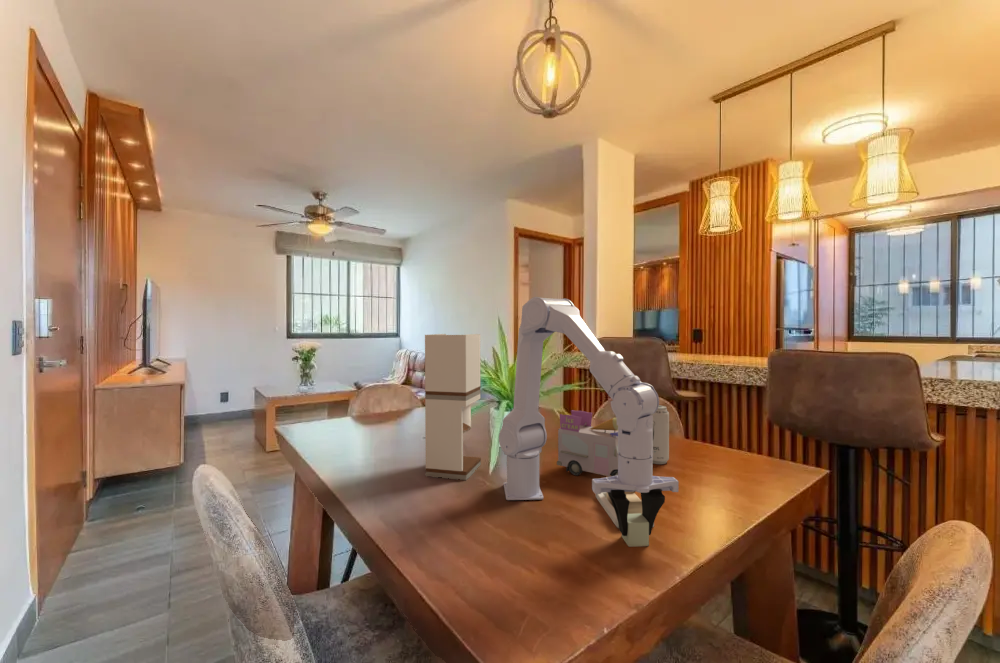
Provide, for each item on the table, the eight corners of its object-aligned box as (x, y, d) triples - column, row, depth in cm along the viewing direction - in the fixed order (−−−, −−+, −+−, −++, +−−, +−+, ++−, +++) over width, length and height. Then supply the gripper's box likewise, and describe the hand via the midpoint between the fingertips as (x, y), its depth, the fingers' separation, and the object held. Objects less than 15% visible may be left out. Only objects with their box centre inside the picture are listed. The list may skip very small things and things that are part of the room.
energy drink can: (640, 459, 119) (640, 405, 119) (657, 456, 121) (657, 403, 121) (657, 466, 113) (657, 409, 113) (673, 463, 116) (674, 407, 116)
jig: (595, 496, 93) (595, 491, 93) (626, 495, 94) (626, 490, 94) (617, 528, 79) (617, 521, 79) (654, 526, 79) (654, 520, 79)
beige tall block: (466, 480, 103) (465, 335, 103) (425, 476, 106) (424, 334, 106) (480, 465, 114) (480, 333, 114) (443, 462, 117) (442, 333, 117)
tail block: (621, 536, 76) (621, 513, 76) (640, 535, 76) (641, 513, 76) (628, 546, 72) (628, 523, 72) (648, 545, 73) (648, 522, 73)
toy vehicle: (630, 490, 97) (631, 424, 97) (555, 472, 109) (555, 413, 108) (644, 479, 104) (644, 417, 104) (572, 463, 116) (572, 408, 116)
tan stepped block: (606, 501, 91) (606, 476, 91) (622, 501, 92) (622, 476, 91) (623, 525, 80) (623, 497, 80) (642, 525, 81) (642, 497, 80)
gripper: (600, 462, 70) (600, 545, 70) (687, 461, 70) (687, 543, 71) (588, 450, 77) (588, 525, 77) (668, 448, 77) (667, 523, 78)
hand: (634, 532), depth 74 cm, fingers closed on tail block, 3 cm apart
